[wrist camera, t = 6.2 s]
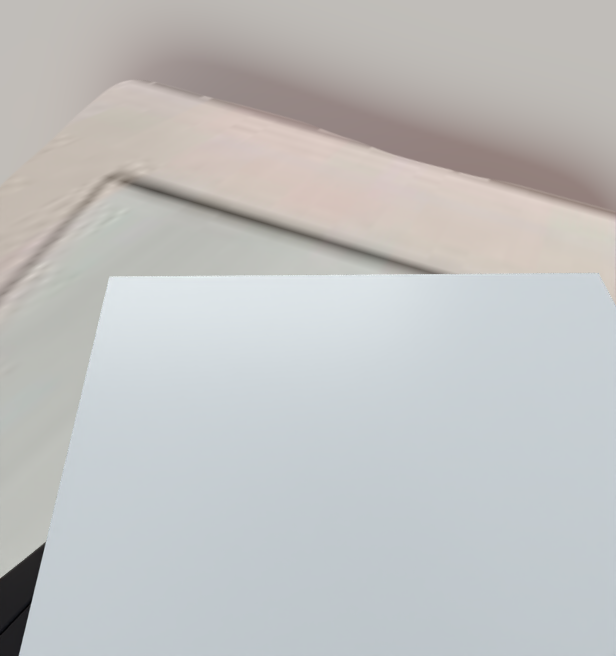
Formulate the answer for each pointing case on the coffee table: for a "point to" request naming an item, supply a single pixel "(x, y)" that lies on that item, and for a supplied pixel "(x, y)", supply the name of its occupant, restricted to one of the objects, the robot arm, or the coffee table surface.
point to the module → (339, 470)
